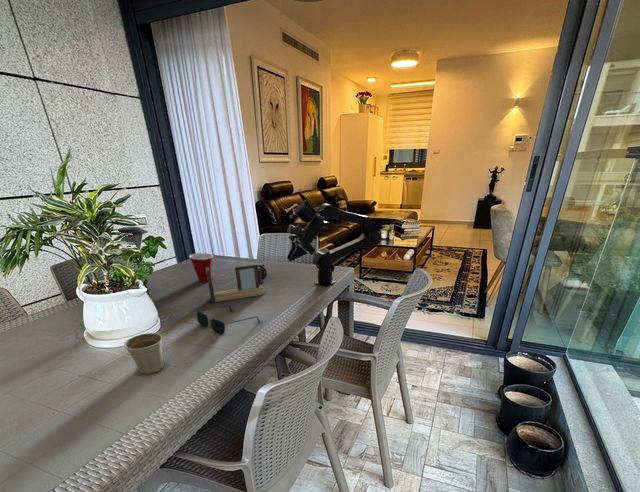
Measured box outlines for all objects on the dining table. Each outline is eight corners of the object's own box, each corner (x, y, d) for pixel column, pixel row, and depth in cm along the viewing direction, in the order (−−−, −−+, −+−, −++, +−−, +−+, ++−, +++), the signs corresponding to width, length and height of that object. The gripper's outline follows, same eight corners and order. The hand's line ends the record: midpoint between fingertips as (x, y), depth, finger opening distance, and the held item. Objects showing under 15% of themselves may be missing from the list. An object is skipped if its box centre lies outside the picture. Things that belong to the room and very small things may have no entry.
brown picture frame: (261, 289, 150) (258, 263, 145) (262, 290, 148) (260, 265, 143) (238, 292, 147) (234, 266, 142) (239, 294, 145) (235, 268, 140)
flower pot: (146, 381, 91) (137, 352, 87) (125, 371, 96) (116, 344, 92) (176, 365, 98) (169, 337, 94) (155, 356, 103) (148, 330, 99)
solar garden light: (170, 300, 145) (152, 224, 131) (159, 312, 134) (138, 230, 120) (141, 301, 145) (119, 225, 130) (127, 313, 134) (102, 231, 120)
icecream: (264, 270, 158) (271, 264, 171) (248, 266, 158) (257, 260, 171) (262, 284, 161) (269, 277, 174) (246, 280, 161) (255, 274, 174)
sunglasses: (196, 323, 123) (195, 309, 121) (231, 315, 133) (231, 303, 132) (224, 337, 113) (223, 322, 111) (260, 328, 123) (260, 314, 121)
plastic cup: (214, 283, 164) (209, 257, 158) (191, 283, 164) (185, 258, 158) (220, 276, 173) (216, 252, 168) (198, 277, 173) (193, 252, 168)
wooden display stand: (261, 291, 152) (257, 261, 146) (263, 294, 148) (260, 264, 142) (211, 298, 146) (205, 267, 139) (212, 302, 141) (206, 270, 135)
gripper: (291, 214, 149) (268, 243, 151) (306, 220, 134) (280, 252, 136) (309, 231, 155) (287, 259, 157) (325, 239, 140) (300, 269, 142)
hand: (288, 259), depth 148 cm, fingers open, 3 cm apart
